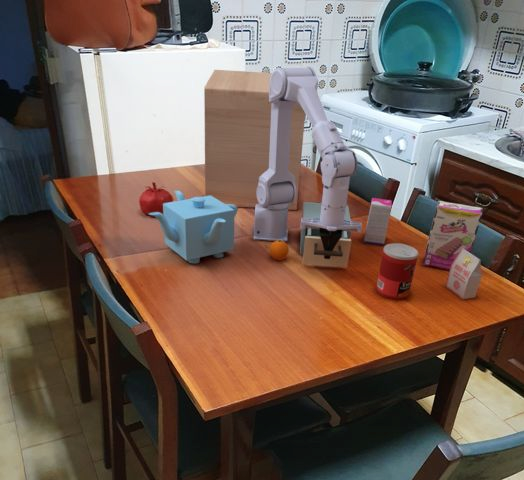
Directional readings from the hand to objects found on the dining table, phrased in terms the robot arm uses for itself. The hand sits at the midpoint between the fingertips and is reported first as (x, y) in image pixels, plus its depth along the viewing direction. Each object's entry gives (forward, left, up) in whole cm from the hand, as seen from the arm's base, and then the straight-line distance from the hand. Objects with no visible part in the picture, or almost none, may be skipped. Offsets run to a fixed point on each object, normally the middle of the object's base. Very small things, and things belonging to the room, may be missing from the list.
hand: (326, 257), depth 135 cm
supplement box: (+15, +24, -5) cm, 28 cm away
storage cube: (-23, +60, -5) cm, 64 cm away
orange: (-12, +7, -2) cm, 14 cm away
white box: (+33, -4, -5) cm, 34 cm away
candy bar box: (+32, +10, -5) cm, 34 cm away
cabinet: (0, +18, -4) cm, 19 cm away
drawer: (0, +7, -3) cm, 8 cm away
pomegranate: (-50, +33, -5) cm, 60 cm away
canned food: (+16, -7, -5) cm, 18 cm away
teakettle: (-34, +6, -5) cm, 35 cm away
